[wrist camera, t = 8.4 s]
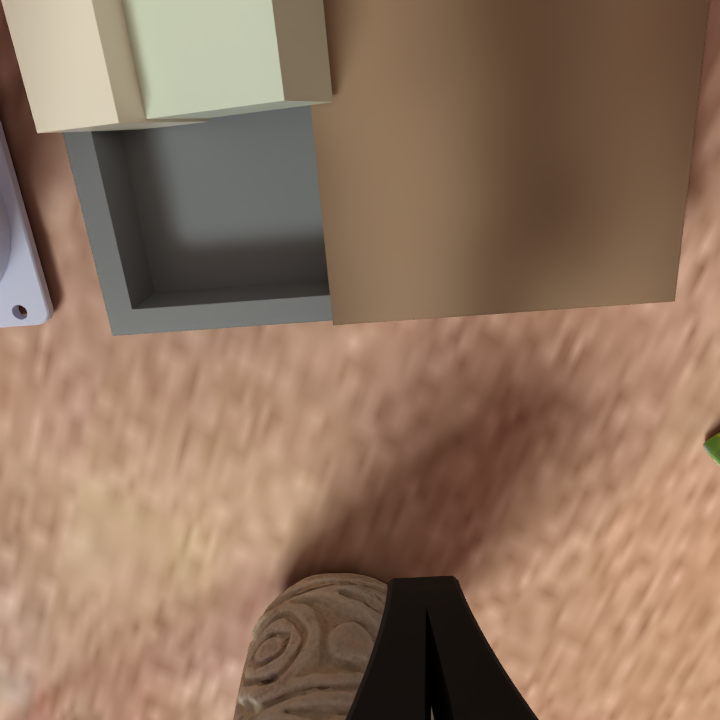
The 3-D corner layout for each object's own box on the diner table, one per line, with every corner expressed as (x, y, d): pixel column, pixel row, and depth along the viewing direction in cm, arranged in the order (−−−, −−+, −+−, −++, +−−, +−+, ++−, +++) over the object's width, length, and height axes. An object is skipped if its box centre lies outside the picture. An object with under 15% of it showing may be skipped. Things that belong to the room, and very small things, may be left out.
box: (142, 312, 21) (112, 335, 18) (8, -287, 15) (-60, -365, 13) (339, 298, 20) (334, 320, 18) (278, -323, 15) (260, -409, 12)
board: (339, 298, 20) (332, 325, 17) (278, -323, 15) (255, -431, 12) (632, 277, 20) (674, 301, 17) (690, -376, 14) (768, -503, 11)
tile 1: (207, 118, 17) (146, 119, 14) (179, -47, 15) (106, -73, 13) (333, 102, 15) (284, 100, 13) (314, -85, 14) (256, -121, 11)
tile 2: (210, 121, 17) (140, 129, 18) (183, -39, 16) (109, -22, 17) (118, 123, 14) (36, 133, 14) (73, -82, 12) (-15, -58, 13)
